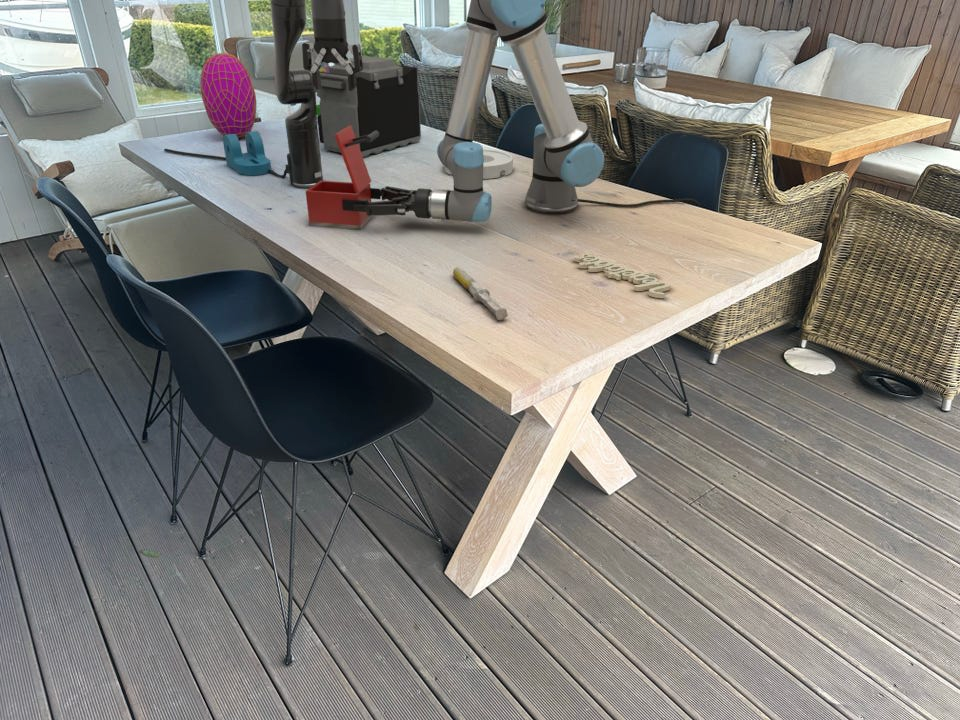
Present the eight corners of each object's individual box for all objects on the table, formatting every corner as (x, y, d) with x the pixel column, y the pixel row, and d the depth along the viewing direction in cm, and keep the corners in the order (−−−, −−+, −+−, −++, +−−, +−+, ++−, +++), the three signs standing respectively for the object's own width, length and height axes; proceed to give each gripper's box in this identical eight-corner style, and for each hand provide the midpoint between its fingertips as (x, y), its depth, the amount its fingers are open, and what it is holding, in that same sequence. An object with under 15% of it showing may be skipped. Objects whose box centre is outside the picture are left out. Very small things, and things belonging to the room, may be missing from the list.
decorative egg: (226, 145, 255) (211, 58, 240) (200, 137, 266) (184, 53, 251) (271, 137, 268) (259, 54, 252) (244, 129, 279) (231, 49, 263)
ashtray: (446, 160, 241) (446, 148, 239) (512, 161, 241) (512, 149, 239) (441, 178, 221) (440, 165, 219) (512, 179, 221) (513, 167, 219)
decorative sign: (686, 282, 150) (660, 295, 144) (686, 286, 150) (659, 300, 144) (592, 249, 166) (565, 259, 160) (592, 253, 167) (565, 263, 161)
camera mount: (227, 164, 233) (221, 132, 227) (257, 160, 238) (252, 129, 233) (244, 176, 220) (239, 143, 215) (276, 172, 225) (271, 139, 220)
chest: (309, 225, 182) (305, 191, 177) (323, 213, 191) (320, 180, 186) (360, 229, 180) (357, 194, 175) (372, 217, 189) (370, 183, 184)
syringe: (449, 274, 155) (449, 263, 153) (465, 272, 156) (464, 260, 154) (490, 323, 135) (491, 310, 133) (508, 319, 136) (508, 307, 134)
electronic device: (383, 133, 276) (378, 52, 261) (425, 141, 265) (422, 56, 250) (314, 150, 251) (304, 61, 235) (358, 160, 240) (350, 67, 224)
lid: (334, 134, 168) (363, 126, 166) (348, 126, 177) (376, 118, 175) (356, 193, 175) (384, 186, 173) (368, 182, 184) (396, 175, 181)
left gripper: (293, 16, 158) (301, 91, 166) (352, 18, 155) (358, 93, 164) (306, 14, 164) (313, 86, 172) (363, 15, 162) (368, 88, 170)
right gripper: (421, 232, 170) (336, 226, 174) (441, 204, 190) (365, 199, 193) (420, 203, 167) (333, 197, 170) (441, 177, 186) (363, 172, 189)
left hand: (335, 89), depth 168 cm, fingers open, 8 cm apart
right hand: (350, 198), depth 182 cm, fingers closed on chest, 10 cm apart
